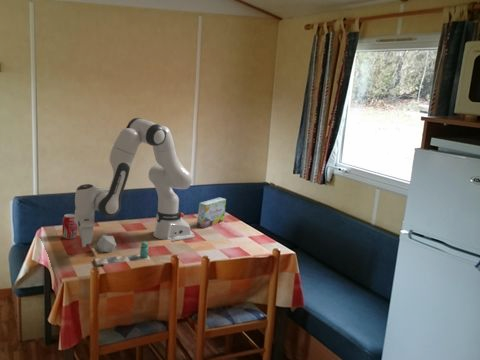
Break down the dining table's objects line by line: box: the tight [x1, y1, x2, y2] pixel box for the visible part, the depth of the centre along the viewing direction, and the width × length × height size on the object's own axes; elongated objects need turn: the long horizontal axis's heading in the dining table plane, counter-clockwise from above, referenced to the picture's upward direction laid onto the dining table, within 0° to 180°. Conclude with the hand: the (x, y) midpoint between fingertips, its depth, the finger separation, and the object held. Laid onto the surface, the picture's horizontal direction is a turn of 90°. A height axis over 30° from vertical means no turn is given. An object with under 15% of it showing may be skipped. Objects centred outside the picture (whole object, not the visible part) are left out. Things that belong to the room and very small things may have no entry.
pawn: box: [139, 241, 149, 258], centre depth 226 cm, size 4×4×8 cm
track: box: [92, 254, 151, 268], centre depth 222 cm, size 26×7×1 cm, turn 117°
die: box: [96, 235, 117, 253], centre depth 231 cm, size 8×9×10 cm
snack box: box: [196, 196, 227, 229], centre depth 287 cm, size 21×6×15 cm, turn 147°
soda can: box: [62, 213, 78, 240], centre depth 244 cm, size 7×7×12 cm
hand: (83, 245), depth 226 cm, fingers closed
